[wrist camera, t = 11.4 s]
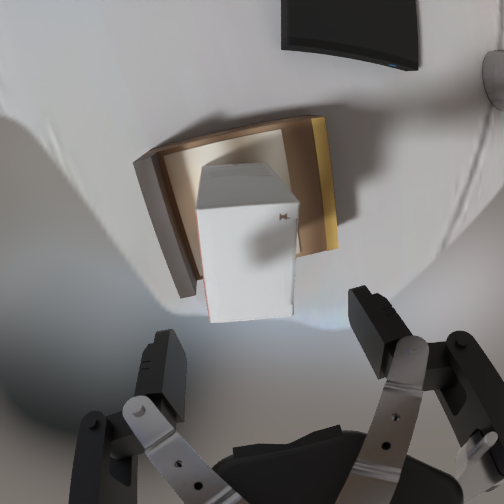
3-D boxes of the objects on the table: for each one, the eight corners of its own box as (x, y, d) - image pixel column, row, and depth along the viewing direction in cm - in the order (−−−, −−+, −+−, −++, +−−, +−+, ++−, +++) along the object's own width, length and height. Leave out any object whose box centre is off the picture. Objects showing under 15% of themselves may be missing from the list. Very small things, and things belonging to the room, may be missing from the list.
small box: (201, 164, 24) (192, 205, 15) (268, 161, 25) (301, 198, 15) (208, 250, 28) (207, 326, 19) (268, 245, 28) (294, 318, 19)
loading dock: (310, 114, 27) (334, 118, 21) (325, 231, 33) (347, 259, 27) (149, 150, 27) (132, 162, 21) (185, 263, 33) (180, 298, 27)
